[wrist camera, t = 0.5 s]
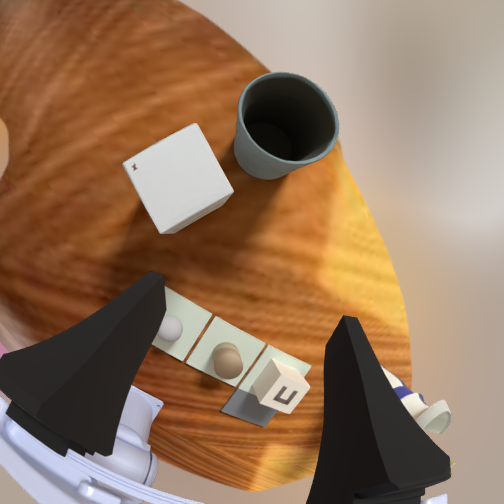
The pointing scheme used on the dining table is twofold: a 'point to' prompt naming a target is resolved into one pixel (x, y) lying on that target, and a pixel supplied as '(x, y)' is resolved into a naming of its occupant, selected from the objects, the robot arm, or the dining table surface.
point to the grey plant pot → (283, 125)
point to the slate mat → (248, 408)
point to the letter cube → (280, 386)
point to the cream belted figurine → (422, 407)
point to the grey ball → (170, 329)
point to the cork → (227, 361)
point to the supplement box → (178, 179)
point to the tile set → (214, 335)
